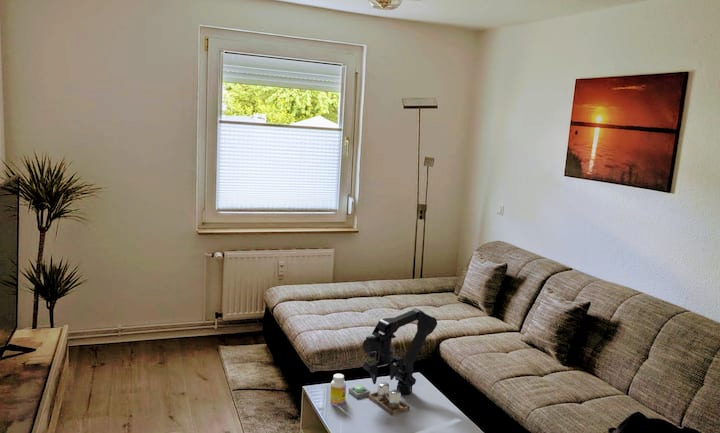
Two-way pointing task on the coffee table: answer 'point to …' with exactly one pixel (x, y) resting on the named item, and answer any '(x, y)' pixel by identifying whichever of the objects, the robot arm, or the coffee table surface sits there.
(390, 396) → the cylinder
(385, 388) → the cylinder
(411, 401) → the coffee table surface
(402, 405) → the wooden tray
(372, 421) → the coffee table surface
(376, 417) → the coffee table surface
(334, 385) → the supplement bottle
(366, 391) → the grey square tray
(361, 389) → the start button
